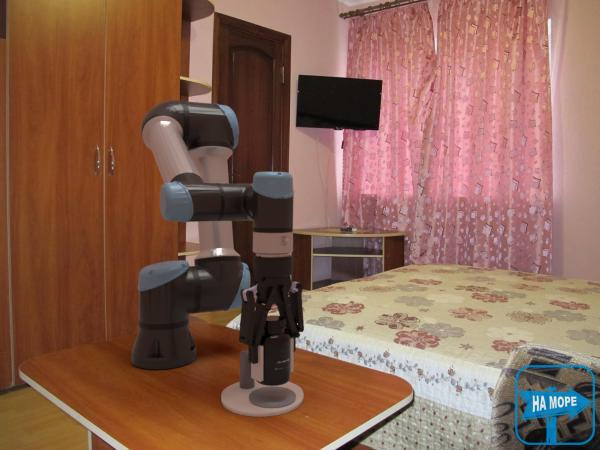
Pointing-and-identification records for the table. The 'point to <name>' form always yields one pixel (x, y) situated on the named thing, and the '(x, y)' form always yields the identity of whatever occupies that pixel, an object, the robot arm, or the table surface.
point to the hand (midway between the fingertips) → (272, 374)
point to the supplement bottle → (276, 352)
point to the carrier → (259, 395)
